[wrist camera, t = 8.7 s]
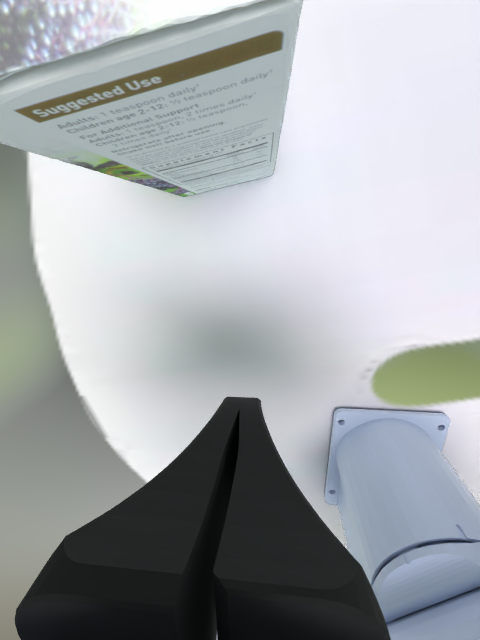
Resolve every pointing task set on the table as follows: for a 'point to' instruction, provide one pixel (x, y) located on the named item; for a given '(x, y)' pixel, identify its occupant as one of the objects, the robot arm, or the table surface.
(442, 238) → the table surface
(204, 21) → the syrup box
